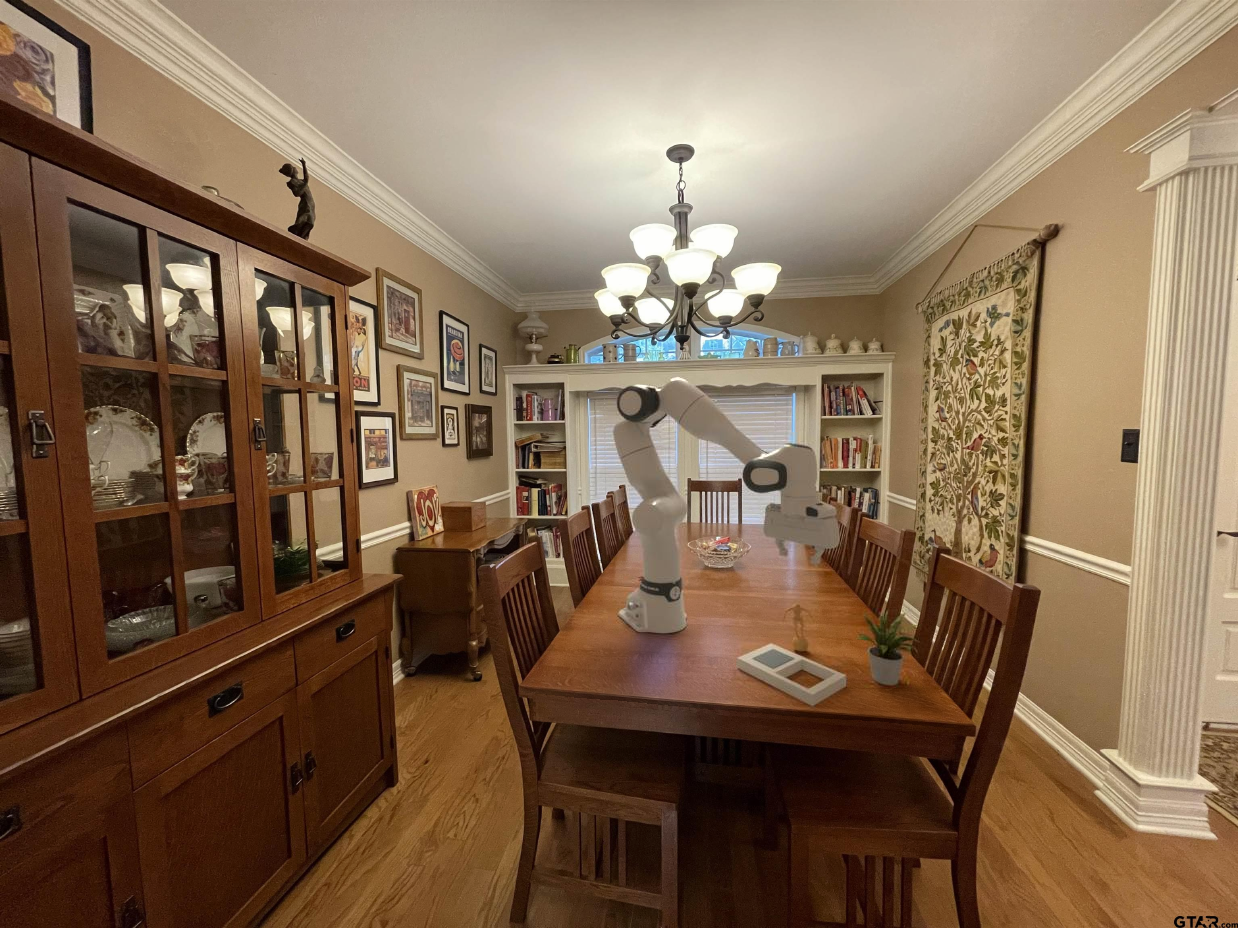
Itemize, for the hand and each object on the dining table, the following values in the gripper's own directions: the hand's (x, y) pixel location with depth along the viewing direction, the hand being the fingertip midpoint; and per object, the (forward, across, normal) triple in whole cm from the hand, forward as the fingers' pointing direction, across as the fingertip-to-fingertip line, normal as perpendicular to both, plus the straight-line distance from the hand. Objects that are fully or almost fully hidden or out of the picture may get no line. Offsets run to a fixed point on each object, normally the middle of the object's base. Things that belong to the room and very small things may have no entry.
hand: (799, 559), depth 121 cm
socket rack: (+24, +7, -14) cm, 28 cm away
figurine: (+24, -1, 0) cm, 24 cm away
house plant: (+25, +20, +2) cm, 32 cm away
